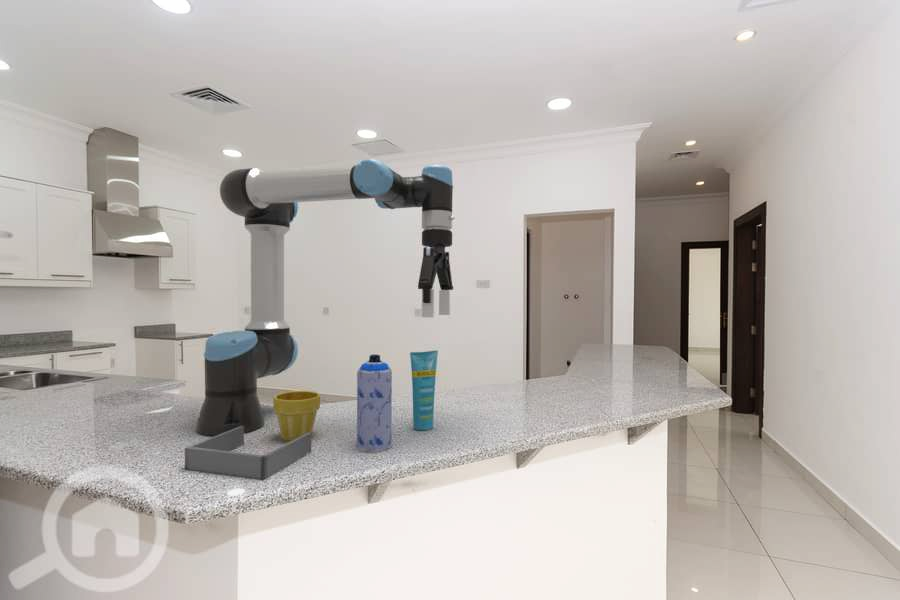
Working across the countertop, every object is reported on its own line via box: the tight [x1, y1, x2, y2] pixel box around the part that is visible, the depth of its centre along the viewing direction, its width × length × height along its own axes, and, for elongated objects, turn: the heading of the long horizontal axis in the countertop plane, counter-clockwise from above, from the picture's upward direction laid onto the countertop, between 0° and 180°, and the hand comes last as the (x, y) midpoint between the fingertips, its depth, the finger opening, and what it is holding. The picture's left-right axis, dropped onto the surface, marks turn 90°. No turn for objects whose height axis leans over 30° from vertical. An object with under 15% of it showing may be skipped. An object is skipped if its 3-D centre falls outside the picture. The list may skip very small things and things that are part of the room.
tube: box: [409, 350, 439, 431], centre depth 114 cm, size 7×5×19 cm, turn 123°
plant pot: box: [272, 390, 321, 442], centre depth 106 cm, size 10×10×10 cm
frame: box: [184, 426, 312, 481], centre depth 91 cm, size 18×15×4 cm
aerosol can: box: [355, 354, 393, 453], centre depth 100 cm, size 8×8×20 cm
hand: (436, 316), depth 113 cm, fingers open, 13 cm apart
